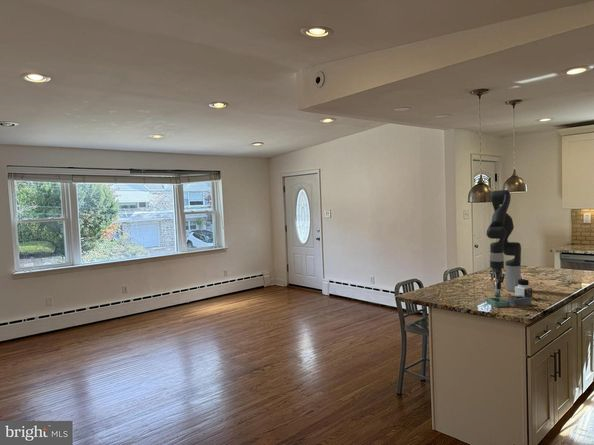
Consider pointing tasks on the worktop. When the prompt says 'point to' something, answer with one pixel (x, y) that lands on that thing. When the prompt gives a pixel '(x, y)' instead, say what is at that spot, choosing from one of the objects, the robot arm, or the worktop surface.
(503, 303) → the tray
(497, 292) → the brass-capped metal pin
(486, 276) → the worktop surface
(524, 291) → the medicine bottle
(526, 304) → the block
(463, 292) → the worktop surface
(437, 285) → the worktop surface
